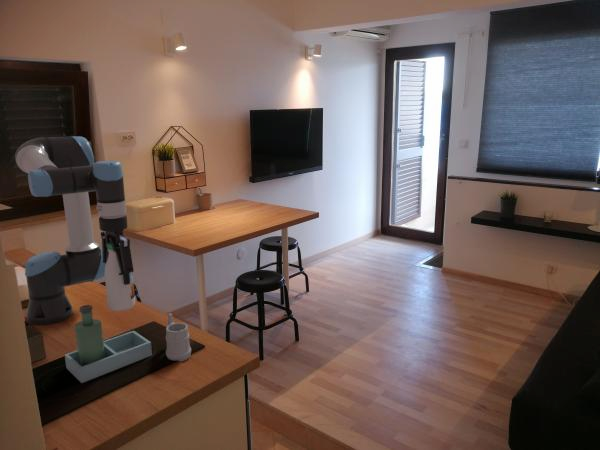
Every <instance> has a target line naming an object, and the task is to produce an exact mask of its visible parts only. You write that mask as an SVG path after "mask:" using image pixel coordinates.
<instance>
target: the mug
mask: <svg viewBox="0 0 600 450" xmlns="http://www.w3.org/2000/svg"><path fill="white" fill-rule="evenodd" d="M188 327H189V326H188V324H186V323H184V322H174V317H173V314H172V313H168V314H167V326H166V328H165V331H166V333H165V334H166V335H165V341H166V350H165V356H166V357H167V359H168V360H169V361H178V362H185V361H186V360H188V359H189V358H190V357H191V353H192V347H191V346H190V345H191V344H190V333H189V328H188Z"/></svg>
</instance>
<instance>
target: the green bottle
mask: <svg viewBox="0 0 600 450" xmlns="http://www.w3.org/2000/svg"><path fill="white" fill-rule="evenodd" d="M78 309H79V313H80V314H81V321H78V322H77V323H76V324H75V325H74V333H75V339H76V347H77V350H78V357H79V365H80V366H81V367H82V366H85V365H88V364H90V363H93V362H96V361H98V360H101V359H104V358H105V352H104V343H103V341H104V337H103V326H102V321H101V320H100V319H96V318H93V310H94V308H93V305H91V304H86V305H81V306H80V307H79V308H78Z"/></svg>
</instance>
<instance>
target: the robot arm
mask: <svg viewBox="0 0 600 450" xmlns="http://www.w3.org/2000/svg"><path fill="white" fill-rule="evenodd" d="M14 160H15V163H16V165H17V167H18V168H19V170H21V171H23V173H26V174H27V180H28V186H29V191H30V194H31V195H32V196H33V197H36V198H37V197H39V198H41V197H45V198H47V197H52V196H59V195H61V196H62V199H63V200H62V201H63V207H64V216H65V222H66V229H67V237H68V238H67V239H68V242H69V243H68V245H67V247H66V248H65V254H62V255H61V253H60V252H59V251H45V252H42V253H38V254H36V255H33V256H32V257H30V258H29V259H27V260H26V262H25V264H24V270H25V271H24V272H25V273H24V275H25V277H26V284H27V291H28V292H27V293H28V300H29V301H28V304H27V305H28V306H27V309H26V315H25V316H26V317H25V318H26V321H27V323H28V324H30V325H34V326H47V325H52V324H57V323H60V322H62V321H65V320H67V319H69V318H70V317H71V316H73V313H74V309H73V306H72V303H71V302H70V299H69V298H68V296H67V295H66V290H65V287H69V286H75V285H80V284H86V283H89V282H90V283H92V282H95V281H98V280H102V279H103V278H105V265H106V263H107V260H108V256H109V251H108V248H107V244H108V243H111V244H112V248H113V251H114V252H115V253H116V256H117V260H118V263H119V267H120V271H121V273H119V275H120V284H121V294H122V296H124V295H127V294H131V293H132V292H131V281H130V273H131V272H132V273H134V264H133V258H132V253H131V252H132V251H131V240H130V238H125V234H124V230H126V229H127V228H128V226H129V225H128V218H127V215H126V214H127V201H126V198H125V197H126V196H125V195H126V194H125V183H124V171H123V168H122V163H121V162H120V161H118V160H101V161H100V160H99V161H95V157H94V153H93V149H92V146H91V144H90V142H89V141H88V139H87V138H86V137H83V136H80V135H79V136H74V135H70V136H50V137H43V136H42V137H36V138H32V139H29V140H27V141H25V142H24V143H22V144H21V145H20V146H19V147H18V148H17V149H16V151H15V154H14ZM91 192H95V195H96V204H97V206H96V207H95V208H96V210H97V215H98V216H99V218H98V224H99V230H100V231H101V232H100V236H101V237H100V238H101V247H100V244H99V243H98V242H96V241H95V237H94V230H93V229H94V228H93V227H94V226H93V220H92V212H91V204H90V196H89V193H91ZM116 247H120V248H116Z"/></svg>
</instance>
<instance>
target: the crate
mask: <svg viewBox="0 0 600 450" xmlns="http://www.w3.org/2000/svg"><path fill="white" fill-rule="evenodd" d="M103 343H104V352H105V358H104V359H101V360H98V361H96V362H93V363H90V364H88V365H85V366H82V367H81V366H80V365H79V357H78V349H77V350H73V351H72V352H68V353H66V354H64V360H65V367H66V370H67V371H69V372H70V374H71V375H73V376H74V378H75V379H77V380H78V382H80V384H83V383H86V382H89V381H91V380H93V379H96V378H98V377H101V376H104V375H106V374H108V373H112V372H113V371H116V370H118V369H121V368H123V367H126V366H129V365H132V364H134V363H136V362H139V361H142V360H144V359H146V358H149V357H151V356H153V351H152V342H151V341H150V340H148V339H147V338H146V337H144V336H142V335H141V334H140V333H138V332H137V331H135V330H132V331H128V332H126V333H122V334H120V335H117V336H115V337H111V338H108V339H105V340H103Z"/></svg>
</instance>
